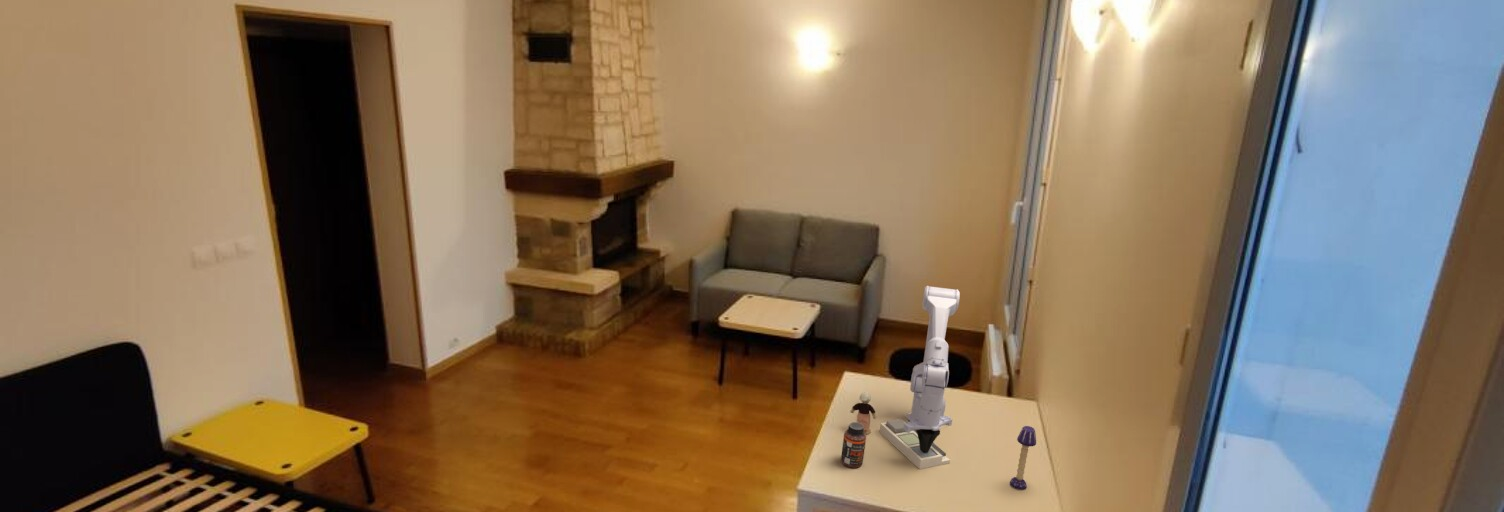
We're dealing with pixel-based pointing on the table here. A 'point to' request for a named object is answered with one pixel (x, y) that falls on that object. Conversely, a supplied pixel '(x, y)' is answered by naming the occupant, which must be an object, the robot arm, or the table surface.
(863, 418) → the grandmother figurine
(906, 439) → the sage key
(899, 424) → the grey key
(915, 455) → the keypad
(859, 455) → the supplement bottle
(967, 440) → the table surface
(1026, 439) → the toy lamp
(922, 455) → the slate key
